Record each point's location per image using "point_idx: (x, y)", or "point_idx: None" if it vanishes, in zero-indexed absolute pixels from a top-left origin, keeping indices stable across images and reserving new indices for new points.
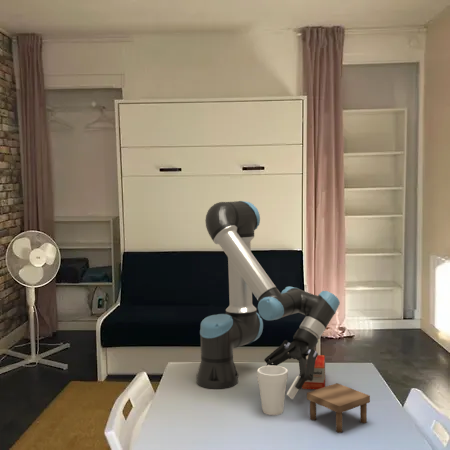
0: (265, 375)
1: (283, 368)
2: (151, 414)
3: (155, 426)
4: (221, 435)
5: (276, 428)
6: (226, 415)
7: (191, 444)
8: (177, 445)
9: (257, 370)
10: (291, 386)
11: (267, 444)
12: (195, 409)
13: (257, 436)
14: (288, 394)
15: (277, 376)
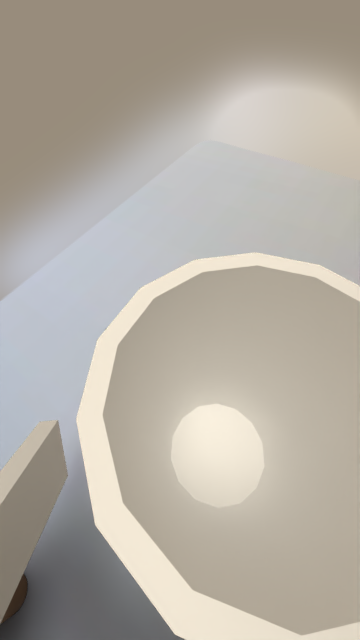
0: (184, 269)
1: (304, 630)
2: (337, 175)
3: (269, 166)
4: (150, 231)
5: (77, 363)
6: None
7: (153, 182)
8: (166, 168)
9: (321, 267)
10: (17, 470)
11: (25, 286)
12: (338, 244)
13: (81, 289)
14: (38, 426)
15: (103, 344)
